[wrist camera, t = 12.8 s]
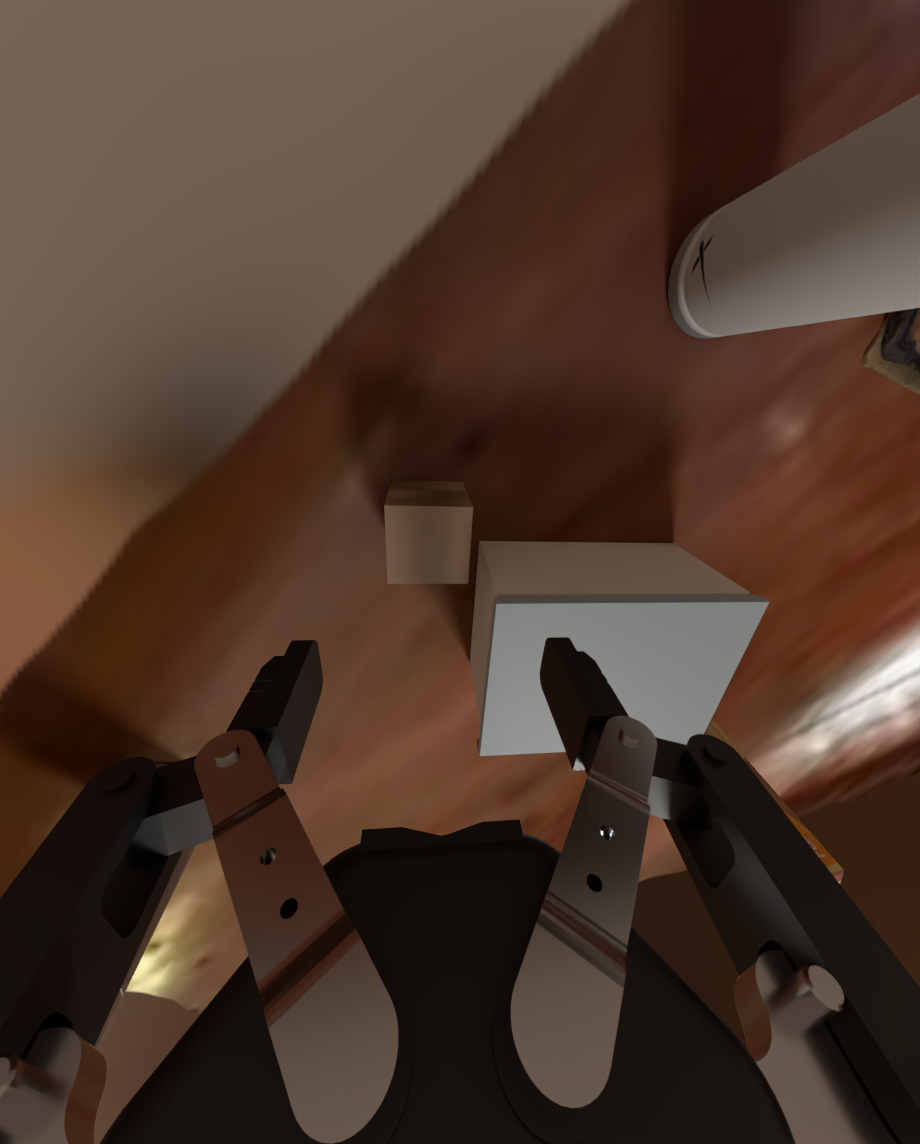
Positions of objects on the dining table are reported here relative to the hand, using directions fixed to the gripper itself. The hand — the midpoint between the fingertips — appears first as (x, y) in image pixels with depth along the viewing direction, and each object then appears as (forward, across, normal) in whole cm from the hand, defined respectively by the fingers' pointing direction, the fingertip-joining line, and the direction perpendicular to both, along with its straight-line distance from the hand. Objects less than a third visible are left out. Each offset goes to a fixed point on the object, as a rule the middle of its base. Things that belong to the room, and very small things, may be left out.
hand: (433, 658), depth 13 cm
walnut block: (+16, 0, 0) cm, 16 cm away
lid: (+8, -12, +9) cm, 17 cm away
